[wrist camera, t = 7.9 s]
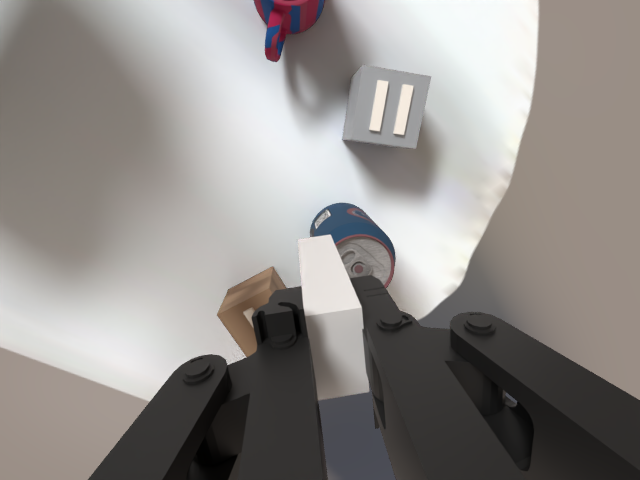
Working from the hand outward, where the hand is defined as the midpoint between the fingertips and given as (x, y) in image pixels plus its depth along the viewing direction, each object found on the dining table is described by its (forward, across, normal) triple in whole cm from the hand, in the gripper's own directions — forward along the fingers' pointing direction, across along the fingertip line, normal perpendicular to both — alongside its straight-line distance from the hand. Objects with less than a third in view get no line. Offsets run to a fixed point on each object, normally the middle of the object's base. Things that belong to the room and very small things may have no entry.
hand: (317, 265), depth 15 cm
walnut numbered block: (+22, -6, -12) cm, 26 cm away
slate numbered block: (+22, +9, +7) cm, 25 cm away
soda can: (+22, +4, -5) cm, 23 cm away
